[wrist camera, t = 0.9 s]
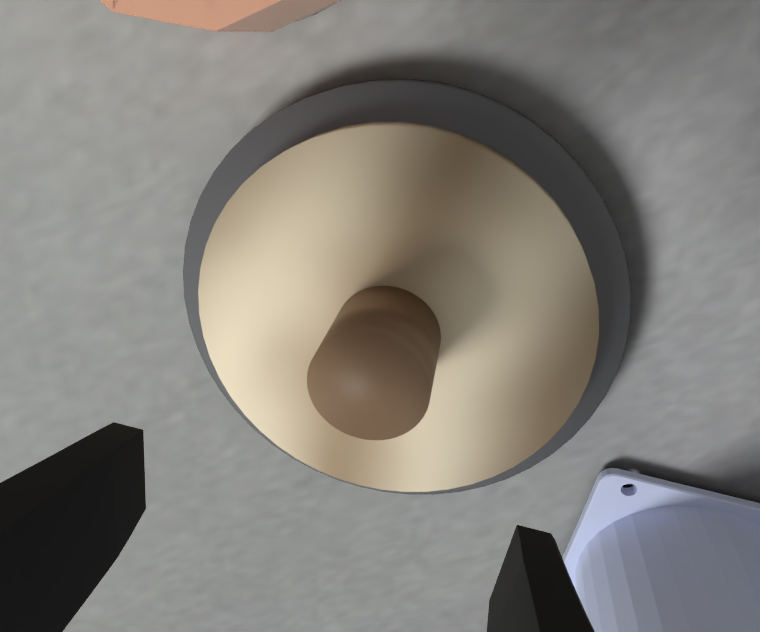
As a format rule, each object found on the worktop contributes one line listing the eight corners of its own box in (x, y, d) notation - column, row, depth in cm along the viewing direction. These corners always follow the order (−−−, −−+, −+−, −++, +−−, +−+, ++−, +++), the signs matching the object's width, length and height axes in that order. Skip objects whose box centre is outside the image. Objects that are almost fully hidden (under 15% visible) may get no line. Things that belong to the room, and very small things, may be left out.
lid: (657, 170, 15) (705, 211, 12) (529, 508, 21) (536, 606, 17) (218, 83, 16) (141, 96, 13) (207, 426, 22) (150, 502, 18)
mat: (700, 132, 16) (713, 138, 15) (547, 515, 22) (550, 535, 21) (201, 37, 17) (185, 37, 16) (193, 425, 23) (181, 440, 22)
